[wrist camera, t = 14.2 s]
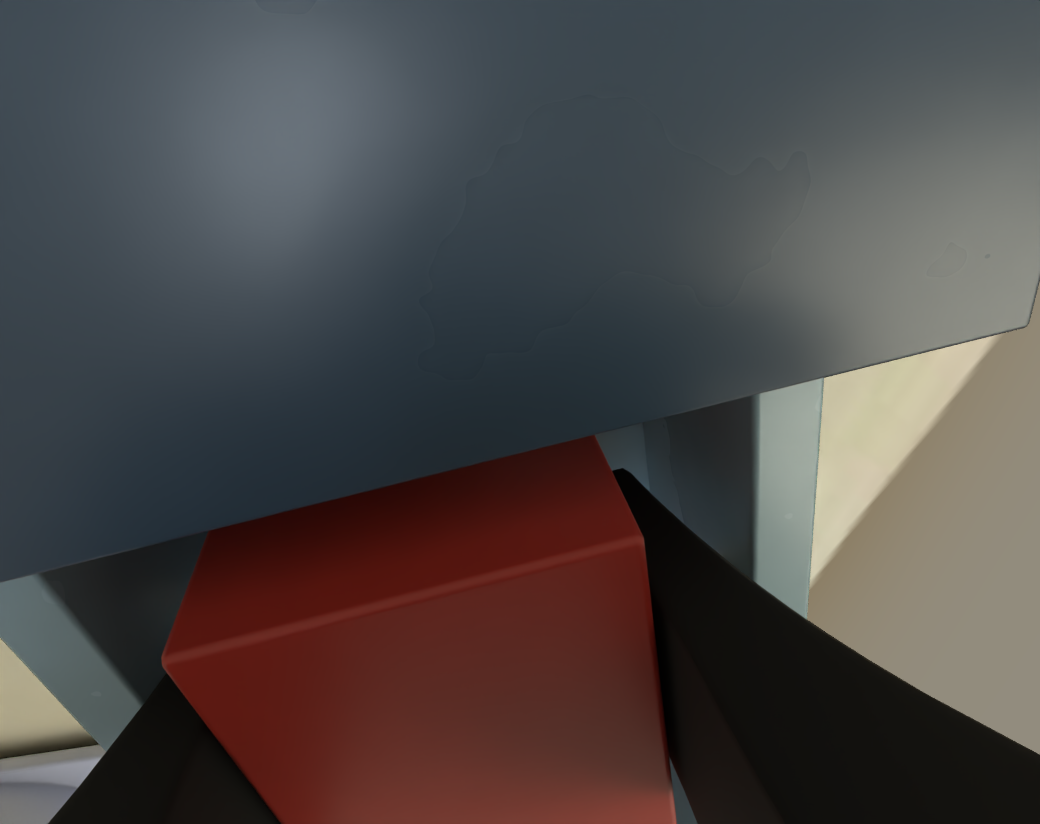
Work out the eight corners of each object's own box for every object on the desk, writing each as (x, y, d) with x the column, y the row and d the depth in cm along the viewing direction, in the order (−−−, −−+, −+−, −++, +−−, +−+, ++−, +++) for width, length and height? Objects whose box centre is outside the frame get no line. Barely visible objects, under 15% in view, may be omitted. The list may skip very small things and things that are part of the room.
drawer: (709, 704, 19) (815, 938, 14) (365, 797, 19) (354, 1068, 14) (677, 110, 11) (917, 182, 6) (45, 256, 10) (-277, 467, 5)
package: (591, 580, 12) (679, 837, 8) (368, 637, 12) (354, 927, 8) (545, 327, 9) (645, 537, 6) (255, 397, 9) (153, 664, 5)
